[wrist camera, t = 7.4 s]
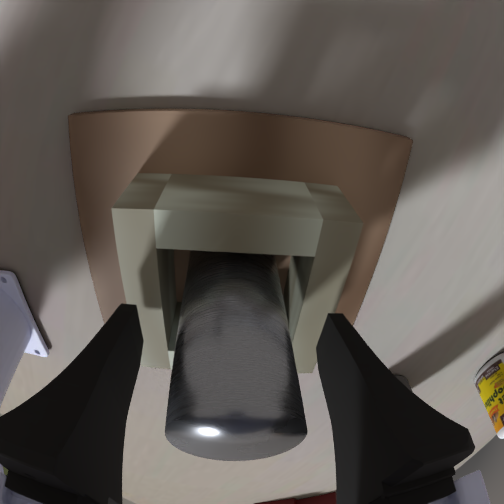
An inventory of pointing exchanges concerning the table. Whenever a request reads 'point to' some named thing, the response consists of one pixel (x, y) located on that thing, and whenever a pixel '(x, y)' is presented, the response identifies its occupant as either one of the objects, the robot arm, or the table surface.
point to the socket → (232, 210)
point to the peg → (234, 362)
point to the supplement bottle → (493, 391)
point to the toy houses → (308, 500)
